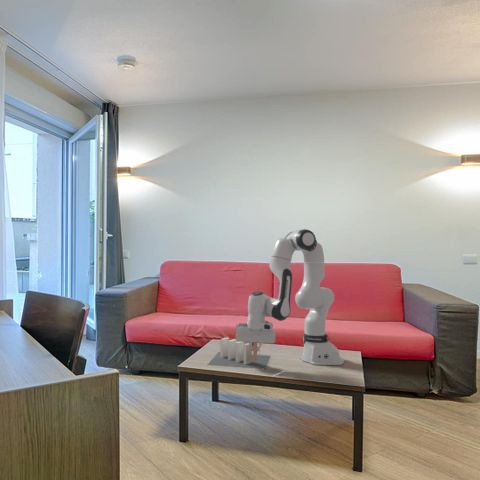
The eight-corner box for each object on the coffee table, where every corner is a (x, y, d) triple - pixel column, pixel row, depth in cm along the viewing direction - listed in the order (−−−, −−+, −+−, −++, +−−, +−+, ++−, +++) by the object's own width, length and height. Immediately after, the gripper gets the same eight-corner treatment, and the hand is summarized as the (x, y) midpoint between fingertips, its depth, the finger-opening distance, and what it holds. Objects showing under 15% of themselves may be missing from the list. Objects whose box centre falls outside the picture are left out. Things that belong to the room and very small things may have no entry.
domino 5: (252, 362, 193) (253, 342, 193) (253, 359, 198) (254, 340, 198) (256, 362, 193) (256, 343, 193) (256, 359, 198) (257, 340, 198)
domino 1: (220, 357, 207) (220, 339, 208) (226, 355, 211) (226, 337, 211) (222, 357, 206) (222, 339, 207) (228, 355, 210) (228, 337, 210)
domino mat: (270, 356, 212) (270, 355, 212) (265, 370, 189) (265, 369, 189) (218, 353, 217) (218, 352, 217) (207, 365, 195) (207, 364, 195)
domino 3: (235, 361, 200) (235, 342, 200) (241, 359, 204) (241, 340, 204) (237, 362, 199) (238, 343, 199) (243, 360, 203) (244, 341, 203)
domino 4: (243, 363, 197) (243, 344, 197) (249, 361, 201) (249, 342, 201) (245, 364, 196) (246, 345, 196) (252, 362, 199) (252, 343, 200)
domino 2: (227, 359, 204) (228, 340, 204) (234, 357, 208) (234, 339, 208) (230, 360, 203) (230, 341, 203) (236, 358, 207) (236, 339, 207)
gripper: (235, 324, 193) (234, 351, 193) (275, 326, 191) (274, 353, 191) (236, 321, 199) (235, 347, 200) (275, 323, 197) (275, 350, 197)
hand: (255, 350), depth 195 cm, fingers closed on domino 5, 2 cm apart
